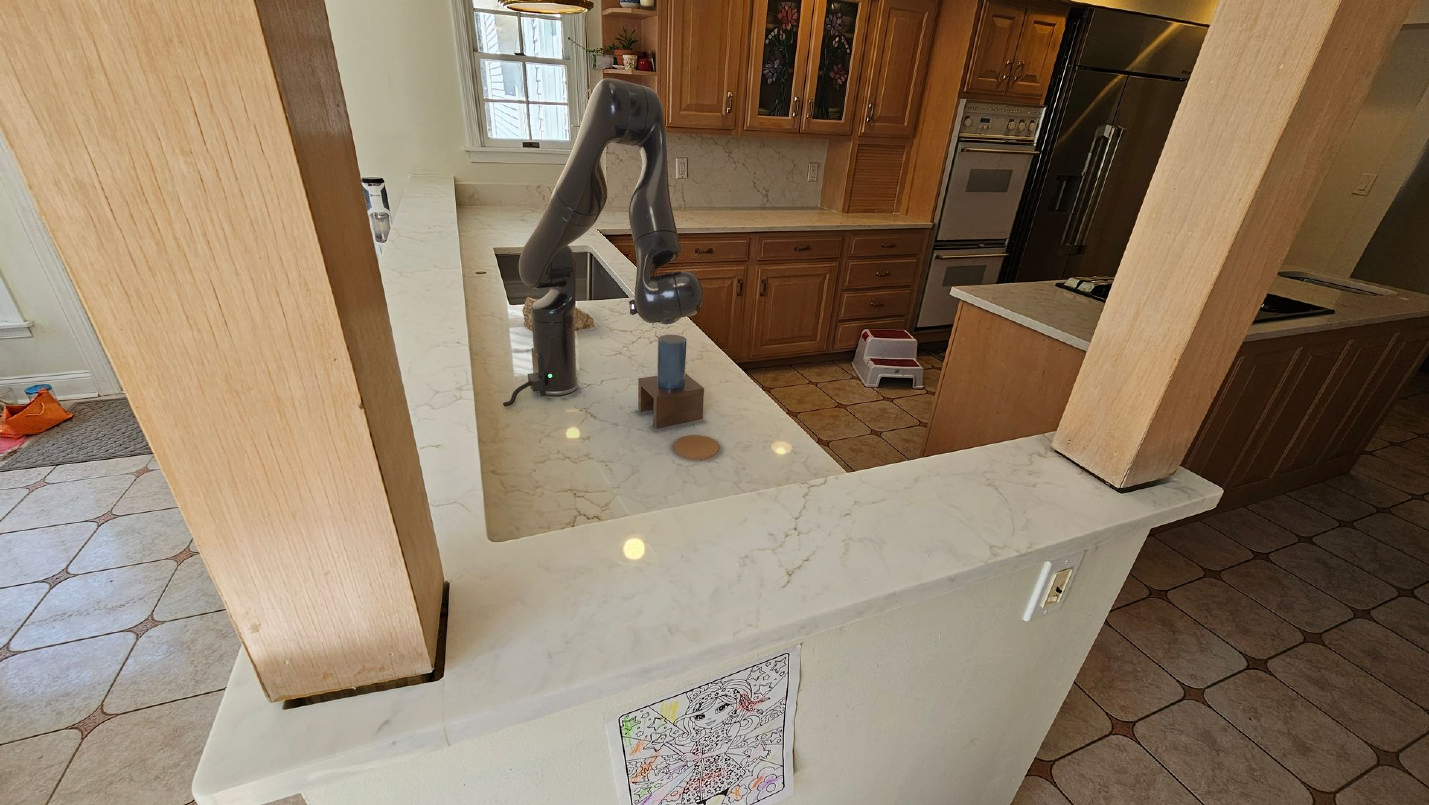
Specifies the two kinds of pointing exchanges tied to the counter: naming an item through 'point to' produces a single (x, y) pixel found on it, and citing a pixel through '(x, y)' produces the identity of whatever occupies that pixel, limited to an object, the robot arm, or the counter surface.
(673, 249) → the robot arm
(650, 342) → the counter surface
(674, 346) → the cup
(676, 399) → the shelf
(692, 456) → the coaster
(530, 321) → the rock
